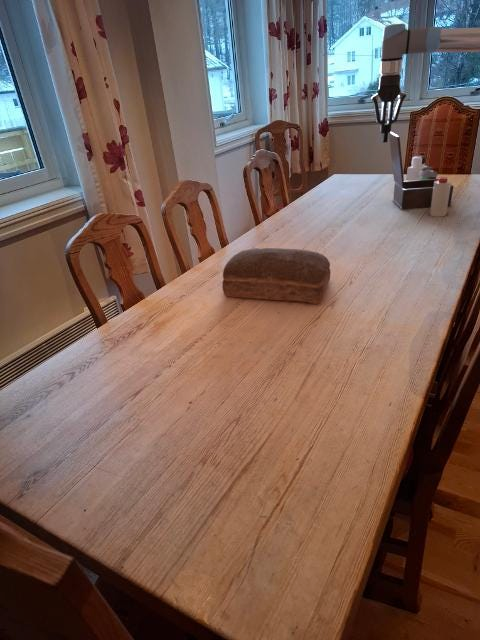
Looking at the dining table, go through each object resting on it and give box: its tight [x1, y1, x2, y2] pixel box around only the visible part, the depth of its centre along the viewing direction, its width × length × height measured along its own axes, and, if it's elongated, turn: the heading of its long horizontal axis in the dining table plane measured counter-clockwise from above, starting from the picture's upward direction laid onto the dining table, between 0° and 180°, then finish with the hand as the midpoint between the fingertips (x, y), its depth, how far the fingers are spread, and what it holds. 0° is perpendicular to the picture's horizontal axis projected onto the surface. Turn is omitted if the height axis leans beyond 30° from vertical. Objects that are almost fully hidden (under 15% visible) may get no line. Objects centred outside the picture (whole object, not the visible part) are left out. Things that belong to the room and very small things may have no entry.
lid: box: [388, 131, 405, 189], centre depth 175 cm, size 20×14×1 cm
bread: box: [222, 247, 331, 304], centre depth 123 cm, size 17×29×11 cm, turn 70°
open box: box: [392, 178, 454, 211], centre depth 181 cm, size 20×14×8 cm
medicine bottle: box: [405, 155, 429, 181], centre depth 212 cm, size 7×7×12 cm
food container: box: [420, 166, 438, 180], centre depth 195 cm, size 12×6×10 cm, turn 168°
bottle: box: [429, 176, 452, 217], centre depth 166 cm, size 6×6×14 cm
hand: (384, 141), depth 172 cm, fingers closed
